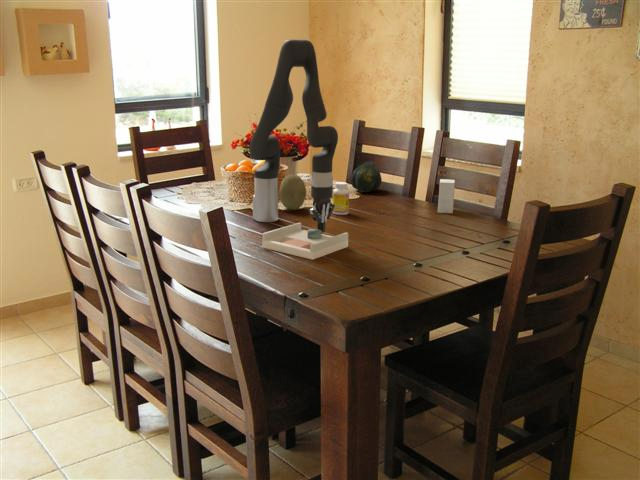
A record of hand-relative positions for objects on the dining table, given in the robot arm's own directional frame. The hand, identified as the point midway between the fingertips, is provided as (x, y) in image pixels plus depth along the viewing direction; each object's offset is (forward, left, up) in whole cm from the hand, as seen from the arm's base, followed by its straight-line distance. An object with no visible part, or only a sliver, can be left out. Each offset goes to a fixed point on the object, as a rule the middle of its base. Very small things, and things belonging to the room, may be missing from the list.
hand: (321, 232), depth 253 cm
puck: (0, -4, -1) cm, 4 cm away
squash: (-38, +84, -4) cm, 93 cm away
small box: (+11, +72, -4) cm, 73 cm away
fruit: (-40, +32, -4) cm, 52 cm away
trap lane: (0, -9, -4) cm, 9 cm away
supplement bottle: (-20, +39, -4) cm, 44 cm away
